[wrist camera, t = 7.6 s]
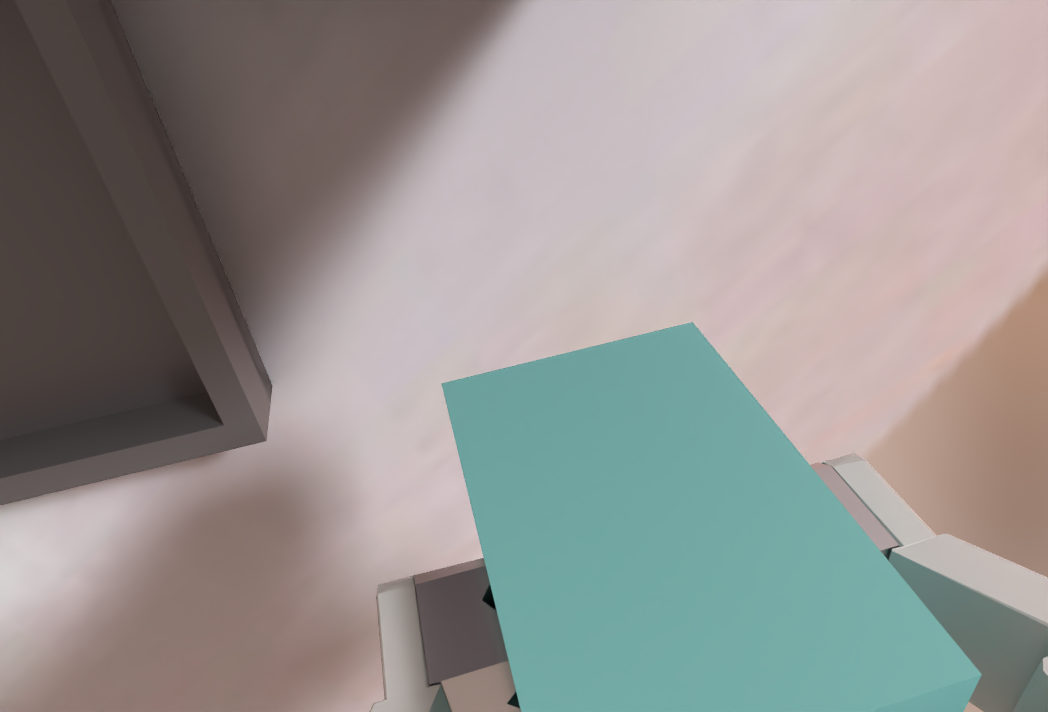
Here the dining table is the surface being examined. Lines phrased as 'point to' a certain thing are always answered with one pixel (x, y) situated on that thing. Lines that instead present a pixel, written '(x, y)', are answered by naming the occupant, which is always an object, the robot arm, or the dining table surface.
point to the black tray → (105, 271)
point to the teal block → (680, 546)
